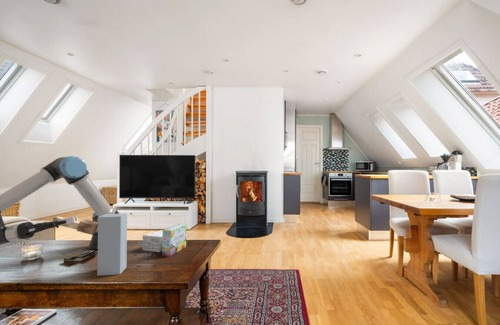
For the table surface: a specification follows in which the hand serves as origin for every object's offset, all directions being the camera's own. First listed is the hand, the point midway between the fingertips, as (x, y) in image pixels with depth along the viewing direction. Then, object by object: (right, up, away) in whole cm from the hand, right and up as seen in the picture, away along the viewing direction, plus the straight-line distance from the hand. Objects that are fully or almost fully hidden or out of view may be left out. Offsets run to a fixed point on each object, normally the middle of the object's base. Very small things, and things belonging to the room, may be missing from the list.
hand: (75, 219), depth 131 cm
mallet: (-1, -4, 0) cm, 4 cm away
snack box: (+39, -27, +33) cm, 58 cm away
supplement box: (+27, -27, +42) cm, 57 cm away
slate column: (+17, -25, +1) cm, 31 cm away
